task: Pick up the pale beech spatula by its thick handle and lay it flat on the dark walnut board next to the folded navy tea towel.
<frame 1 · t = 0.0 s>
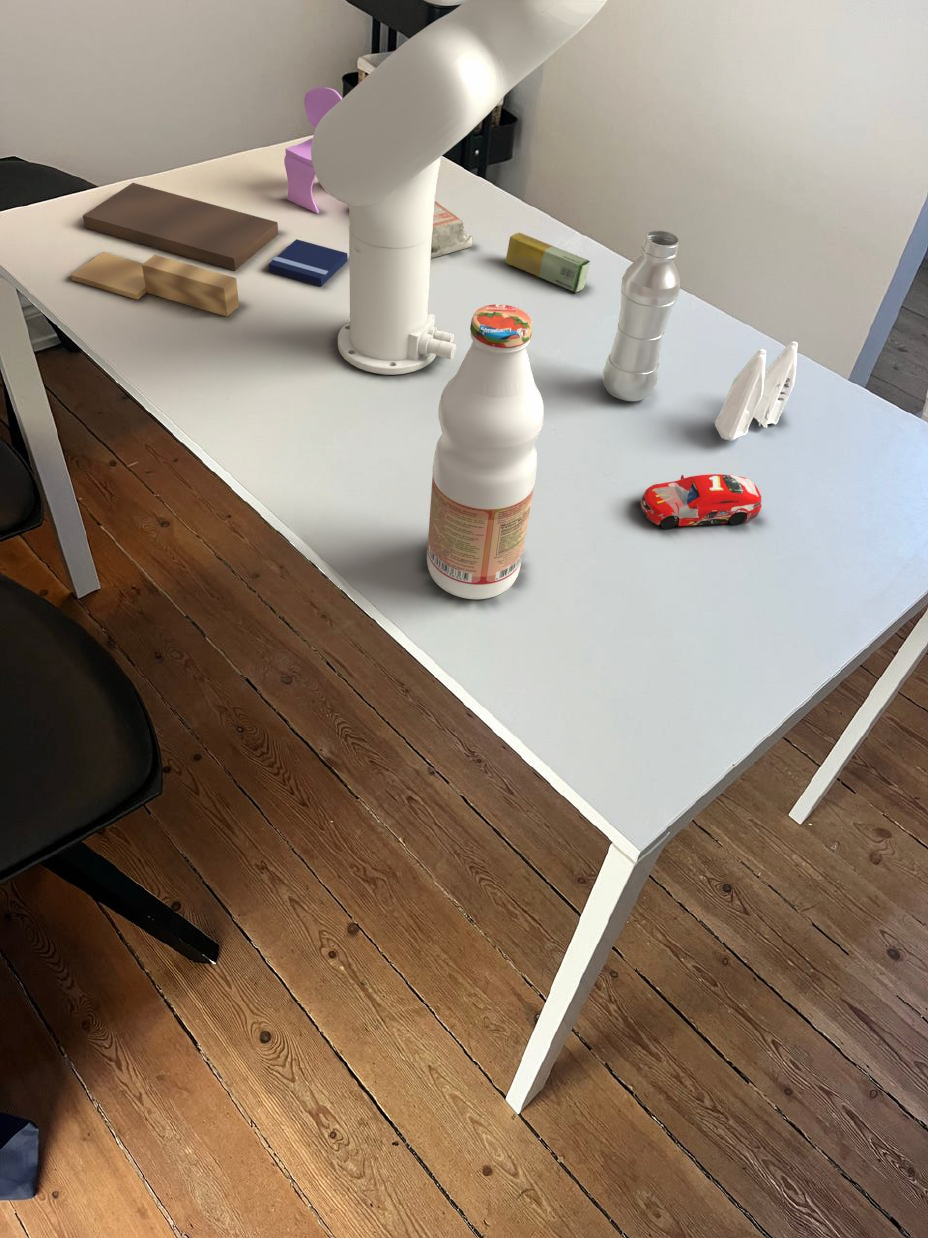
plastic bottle: (625, 393, 121), on the table
navy tea towel: (308, 266, 136), on the table
walnut board: (182, 230, 140), on the table
packaged product: (411, 230, 145), on the table
fruit juice: (472, 569, 99), on the table
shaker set: (744, 428, 119), on the table
toy chair: (320, 199, 150), on the table
medication box: (544, 277, 139), on the table
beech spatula: (159, 289, 129), on the table
race car: (696, 512, 107), on the table
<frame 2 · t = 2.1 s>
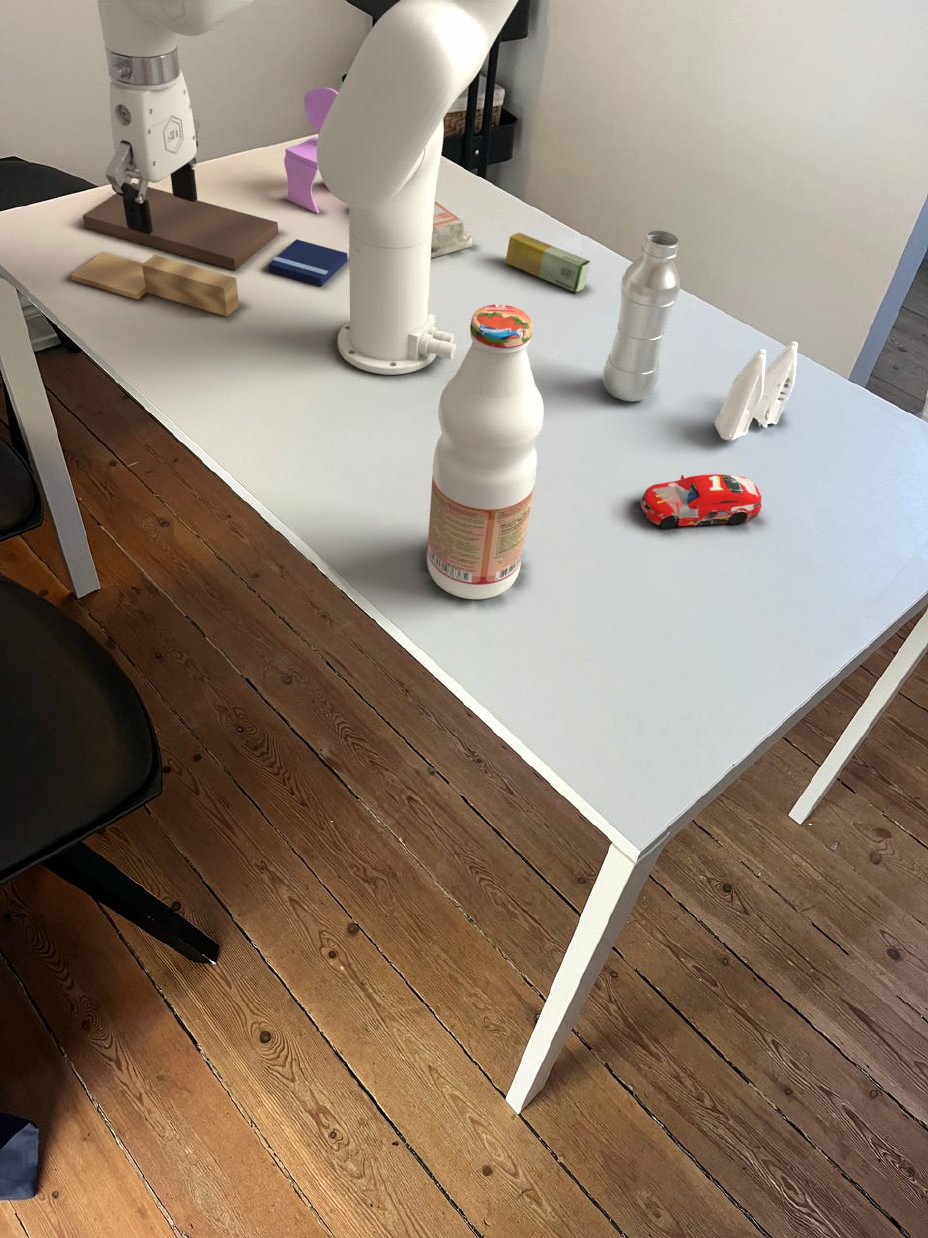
hand: (163, 214, 120), 11 cm above the table, tool pointing down, fingers open, 9 cm apart
nothing on the table moved.
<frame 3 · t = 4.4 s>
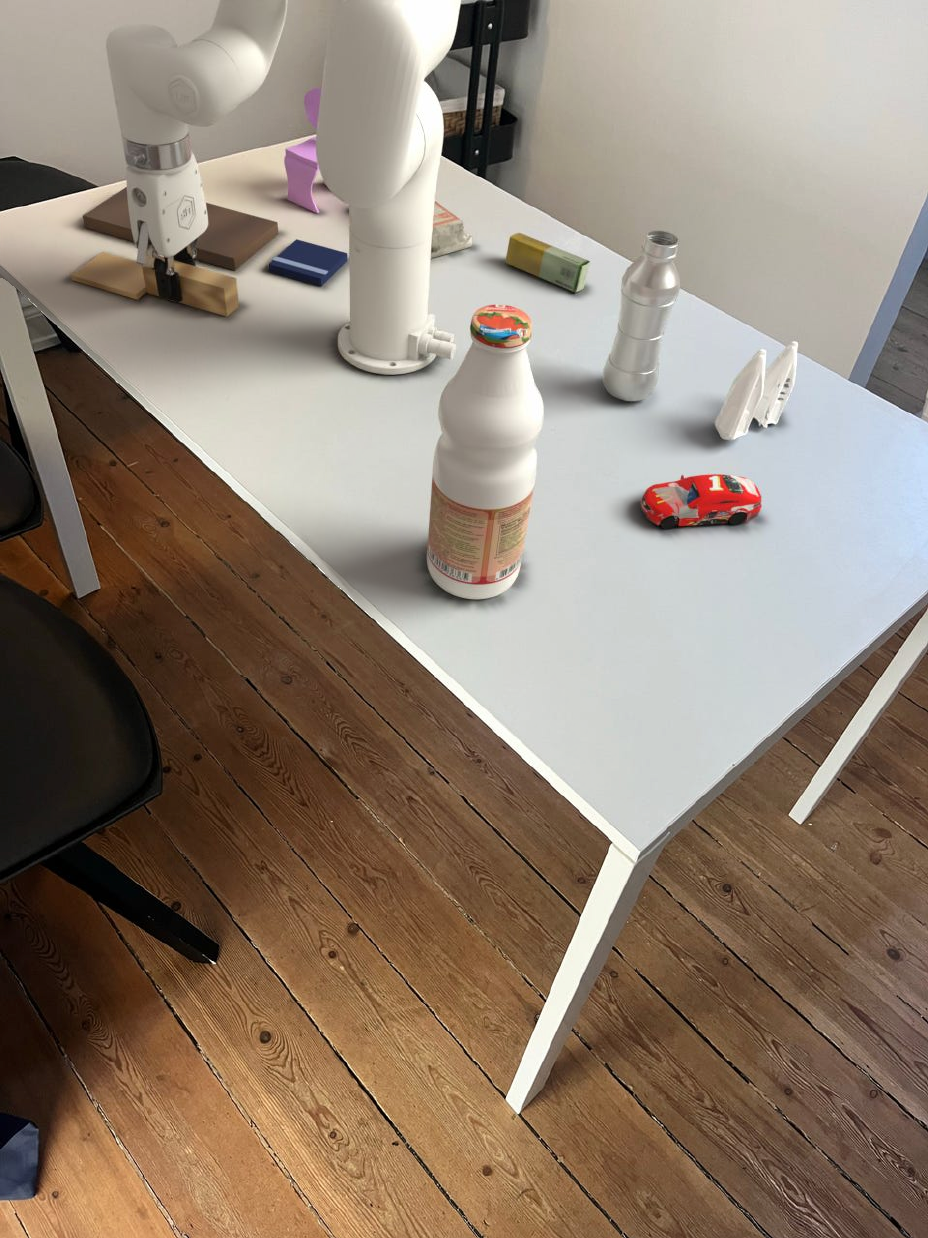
hand: (178, 291, 128), 1 cm above the table, tool pointing down, fingers closed on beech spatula, 3 cm apart
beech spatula: (159, 289, 129), on the table, touching gripper
everything else where it was.
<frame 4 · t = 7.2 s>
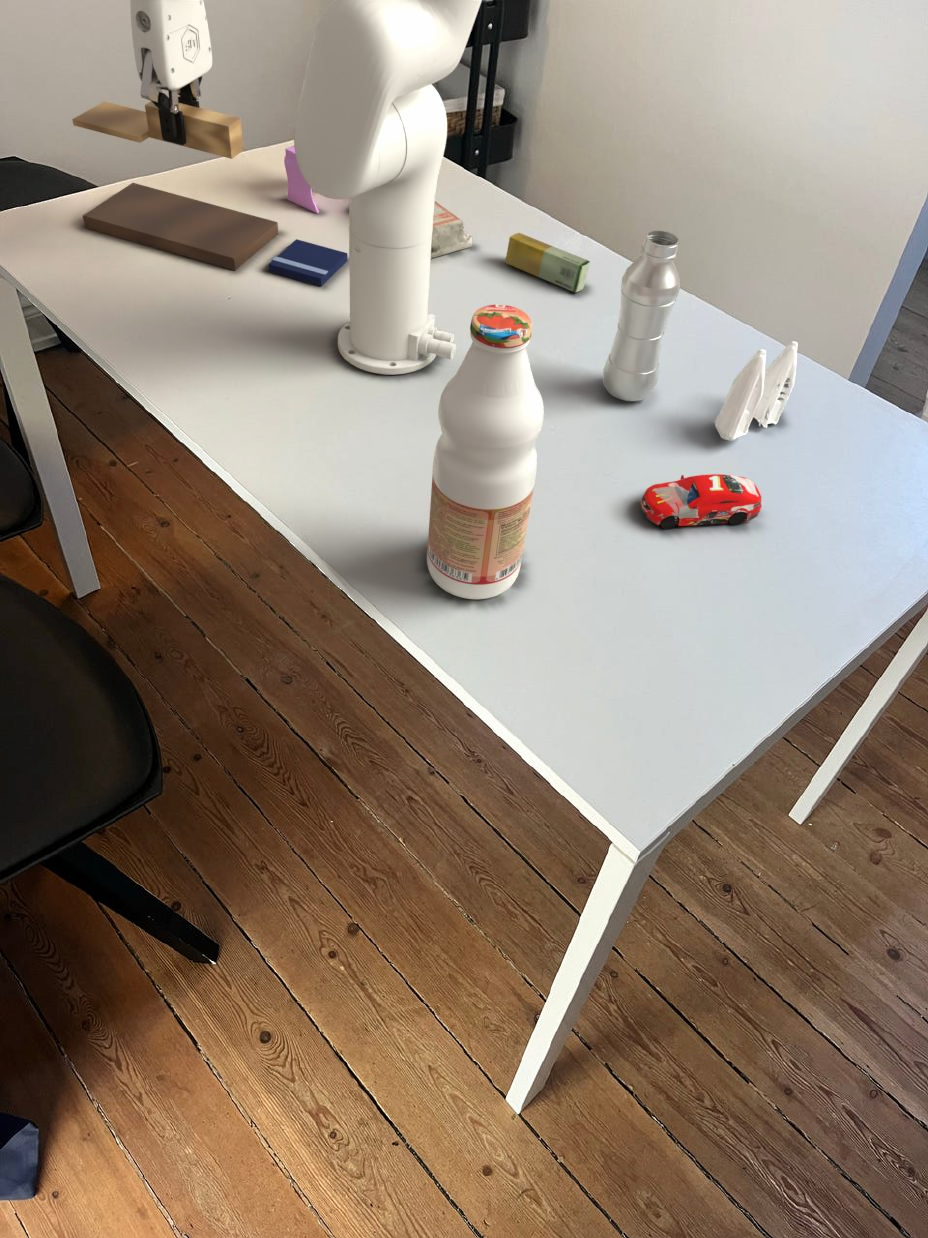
hand: (182, 135, 126), 15 cm above the table, tool pointing down, fingers closed on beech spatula, 3 cm apart
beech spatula: (162, 135, 127), point 14 cm above the table, touching gripper
everything else where it was.
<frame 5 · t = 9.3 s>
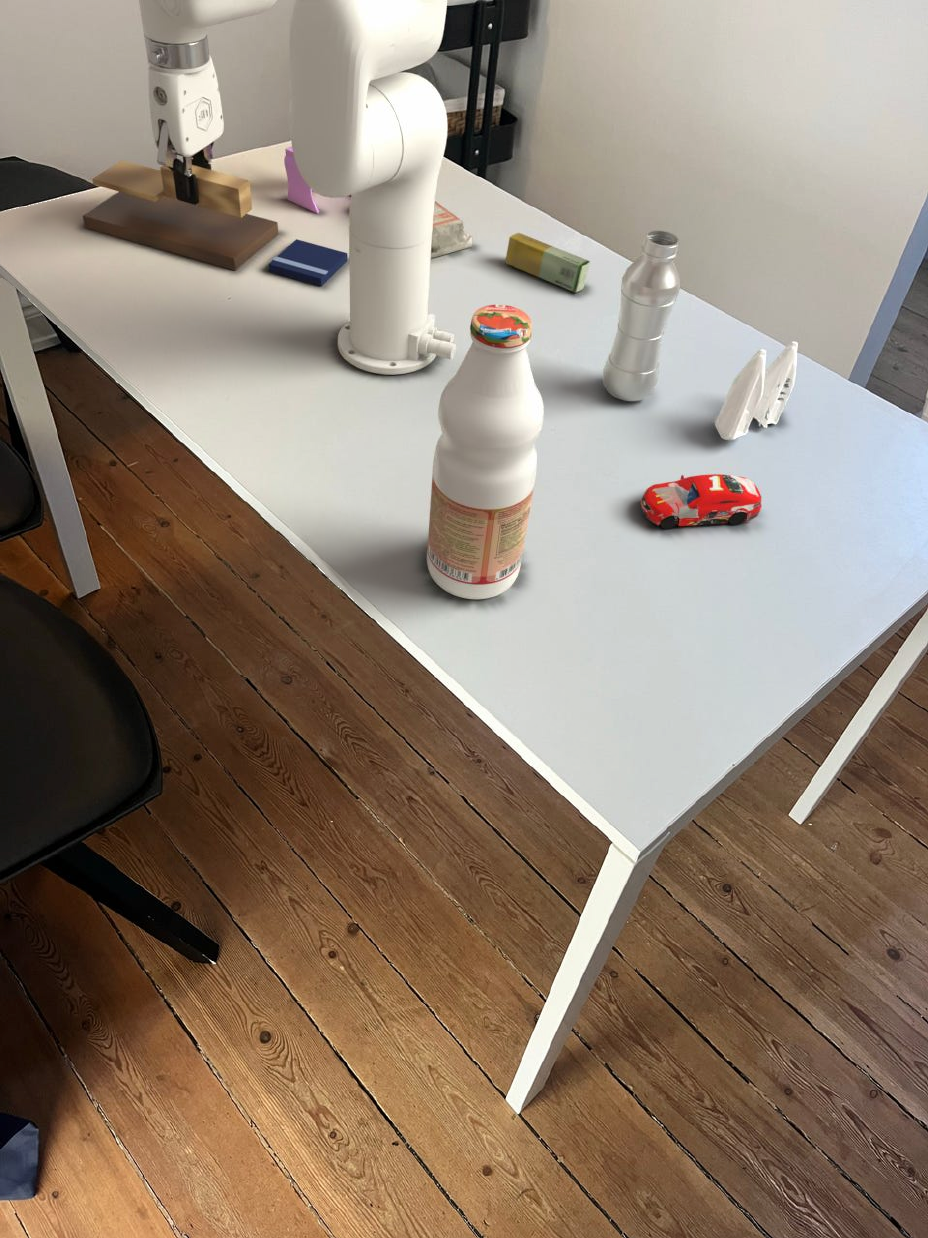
hand: (195, 194, 135), 6 cm above the table, tool pointing down, fingers closed on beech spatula, 3 cm apart
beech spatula: (176, 193, 136), point 5 cm above the table, touching gripper
everything else where it was.
when the fingers open (2 cm above the table, at t = 10.5 s): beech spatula stays where it is, resting on walnut board.
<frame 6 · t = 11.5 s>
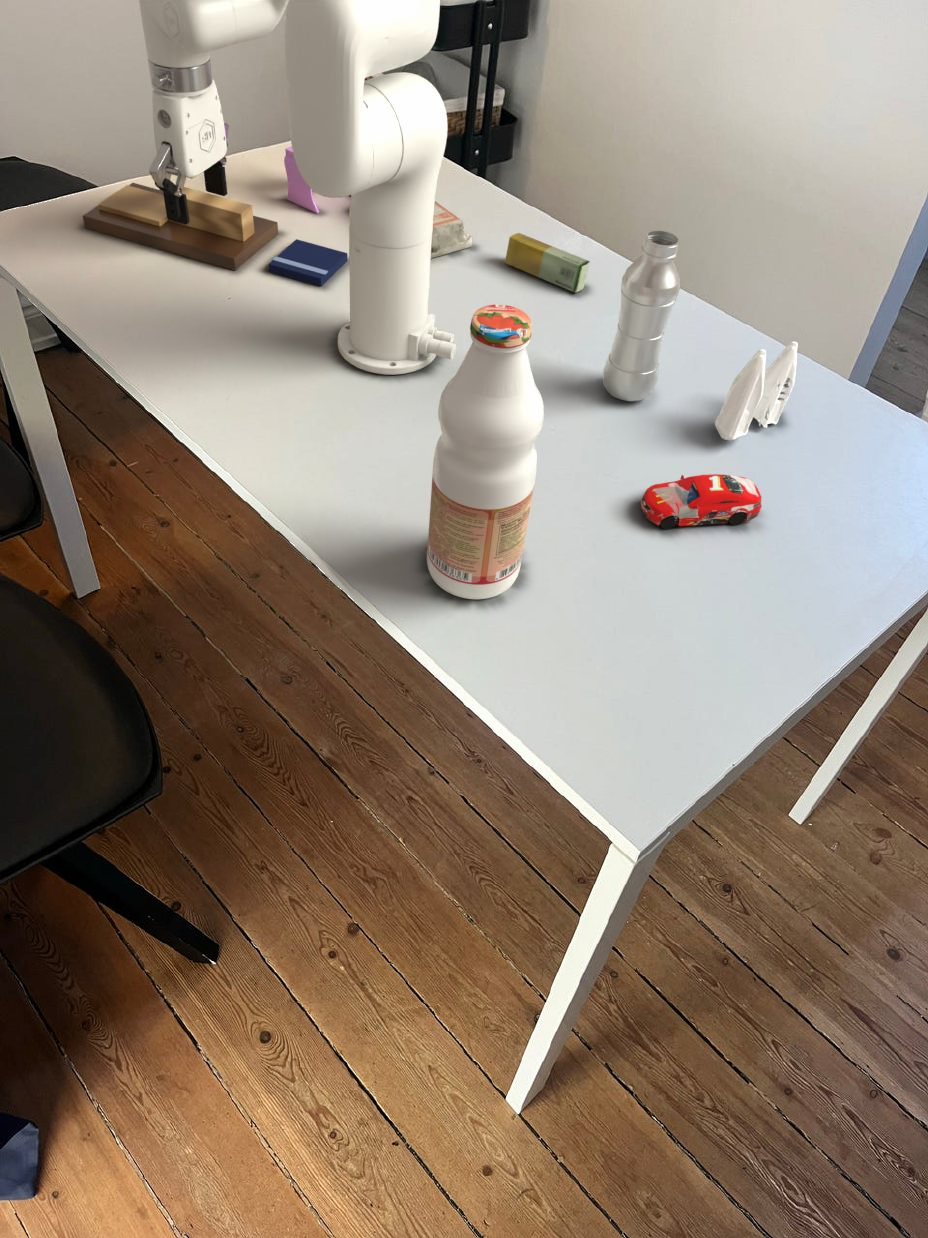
hand: (198, 206, 136), 4 cm above the table, tool pointing down, fingers open, 9 cm apart
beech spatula: (180, 218, 138), point 2 cm above the table, touching walnut board
everything else where it was.
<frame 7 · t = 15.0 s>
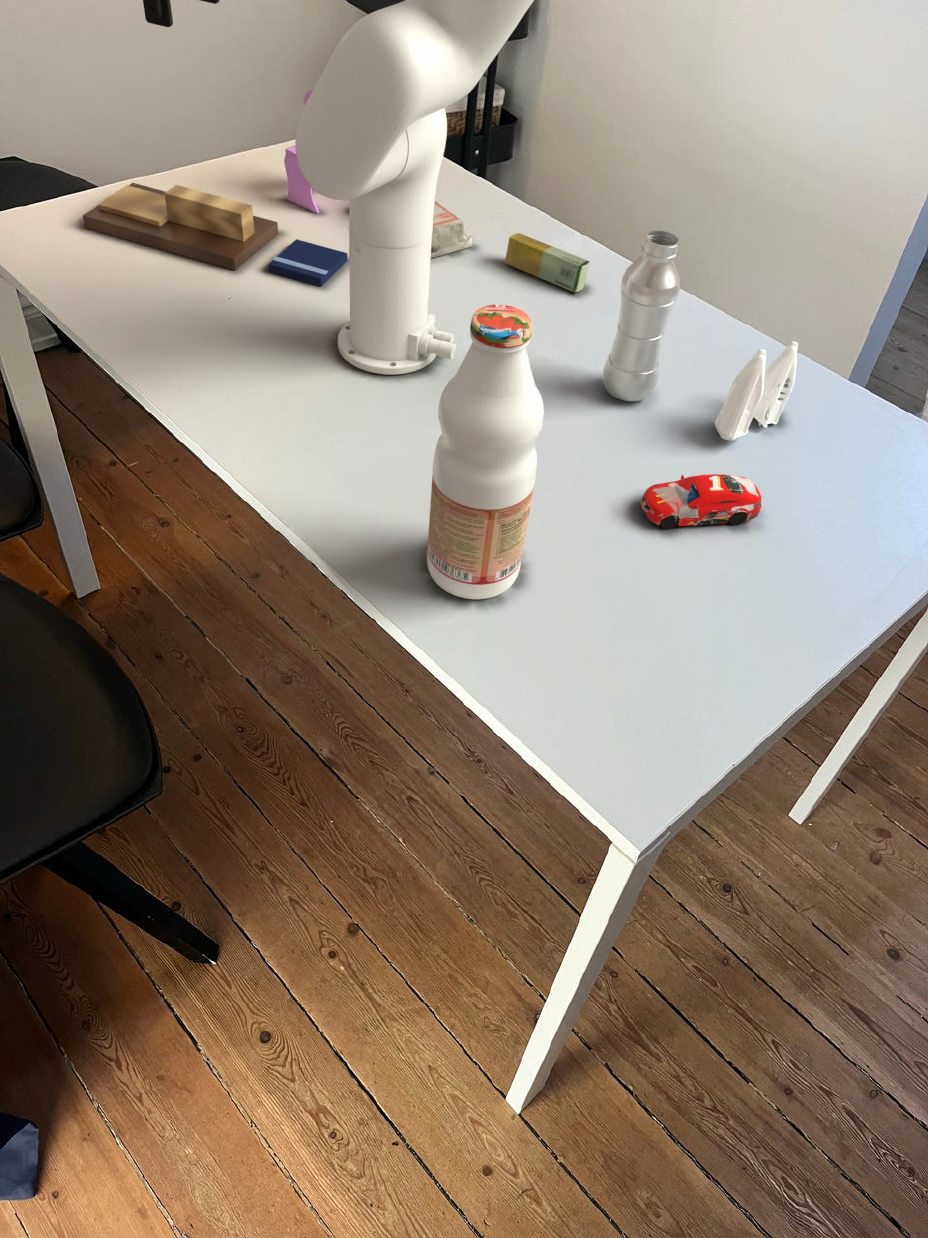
hand: (183, 12, 113), 30 cm above the table, tool pointing down, fingers open, 9 cm apart
nothing on the table moved.
at the end: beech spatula inside the target area on the walnut board (0.1 cm from its centre), point 1.8 cm above the walnut board's base; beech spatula tilted 0°; the gripper is holding nothing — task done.
